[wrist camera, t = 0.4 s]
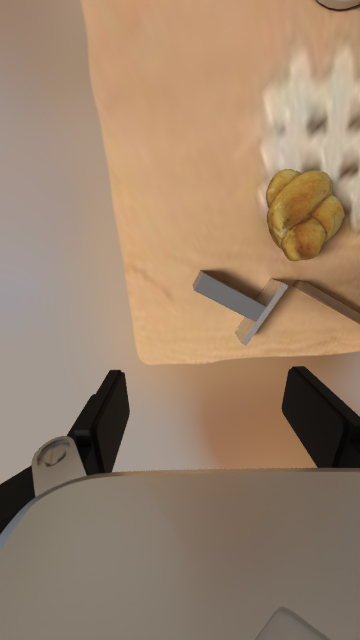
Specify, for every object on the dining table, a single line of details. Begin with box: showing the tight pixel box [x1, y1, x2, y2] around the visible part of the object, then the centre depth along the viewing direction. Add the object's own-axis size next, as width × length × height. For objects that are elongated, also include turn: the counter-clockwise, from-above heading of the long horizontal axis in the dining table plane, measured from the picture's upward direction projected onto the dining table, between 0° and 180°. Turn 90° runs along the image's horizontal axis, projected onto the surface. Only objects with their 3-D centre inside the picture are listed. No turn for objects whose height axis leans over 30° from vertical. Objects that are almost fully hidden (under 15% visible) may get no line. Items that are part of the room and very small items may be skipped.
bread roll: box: [266, 169, 345, 261], centre depth 28 cm, size 13×10×8 cm
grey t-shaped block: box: [193, 270, 288, 345], centre depth 34 cm, size 12×13×5 cm
